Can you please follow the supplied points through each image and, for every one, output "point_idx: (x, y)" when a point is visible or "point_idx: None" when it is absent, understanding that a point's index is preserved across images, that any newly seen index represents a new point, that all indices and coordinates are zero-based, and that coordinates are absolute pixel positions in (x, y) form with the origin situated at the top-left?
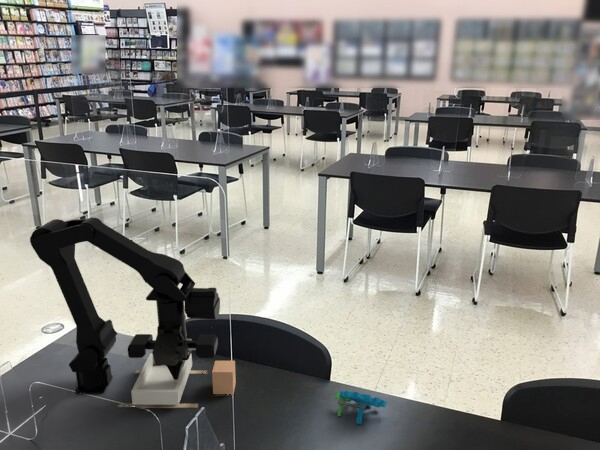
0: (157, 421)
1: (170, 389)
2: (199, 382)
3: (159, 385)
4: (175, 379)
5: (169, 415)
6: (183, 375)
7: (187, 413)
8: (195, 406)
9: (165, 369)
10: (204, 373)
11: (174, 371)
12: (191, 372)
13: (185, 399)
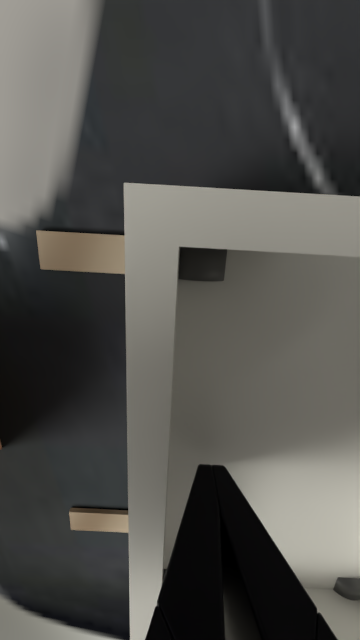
0: (294, 80)
1: (238, 373)
2: (92, 455)
3: (322, 420)
4: (214, 465)
5: (213, 155)
6: (128, 496)
7: (91, 173)
8: (49, 239)
9: (290, 552)
10: (80, 512)
11: (230, 554)
12: None
13: None
